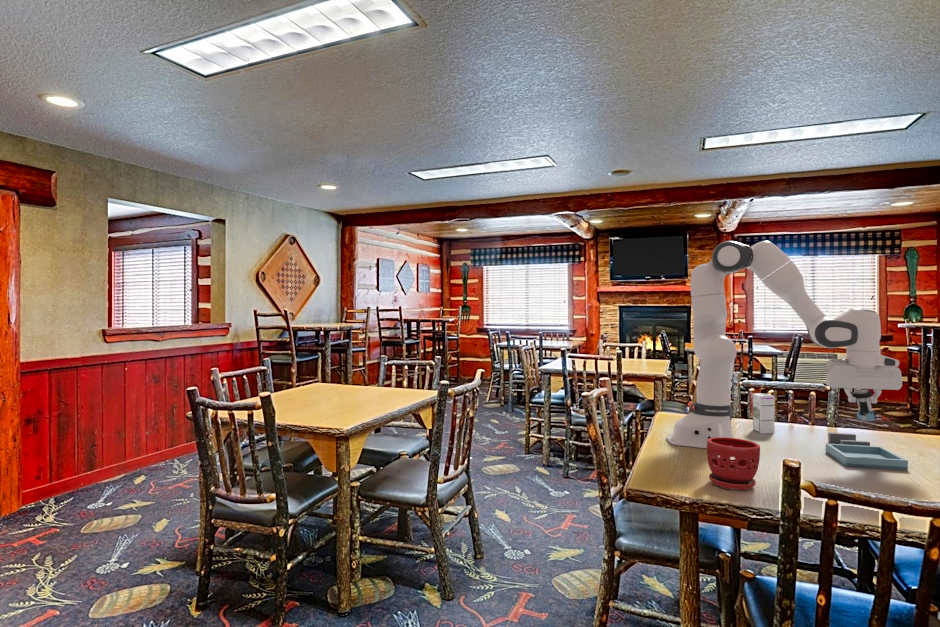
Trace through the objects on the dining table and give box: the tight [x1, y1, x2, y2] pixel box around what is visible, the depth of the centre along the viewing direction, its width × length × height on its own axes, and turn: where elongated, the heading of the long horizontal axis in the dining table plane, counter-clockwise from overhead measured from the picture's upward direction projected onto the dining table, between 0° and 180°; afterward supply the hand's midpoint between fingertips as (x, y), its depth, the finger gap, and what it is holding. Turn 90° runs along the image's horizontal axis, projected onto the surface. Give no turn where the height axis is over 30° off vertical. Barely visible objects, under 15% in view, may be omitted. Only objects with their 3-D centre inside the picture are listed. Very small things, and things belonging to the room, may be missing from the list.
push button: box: [851, 388, 881, 422], centre depth 171 cm, size 7×5×10 cm
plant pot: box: [706, 437, 761, 491], centre depth 148 cm, size 13×13×12 cm
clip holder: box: [827, 432, 871, 446], centre depth 185 cm, size 8×12×4 cm, turn 165°
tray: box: [825, 443, 909, 471], centre depth 169 cm, size 16×16×3 cm
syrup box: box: [752, 392, 775, 434], centre depth 208 cm, size 6×6×14 cm
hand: (862, 402), depth 171 cm, fingers closed on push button, 4 cm apart
